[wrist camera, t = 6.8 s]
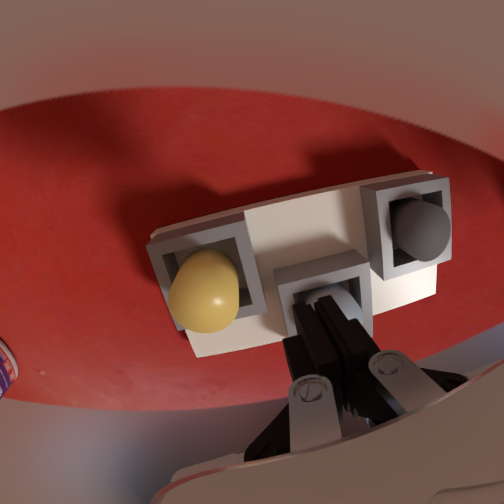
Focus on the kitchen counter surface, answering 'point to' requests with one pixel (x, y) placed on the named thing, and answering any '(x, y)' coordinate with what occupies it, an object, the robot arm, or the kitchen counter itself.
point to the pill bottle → (6, 368)
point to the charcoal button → (419, 228)
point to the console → (306, 254)
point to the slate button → (340, 297)
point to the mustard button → (205, 291)
